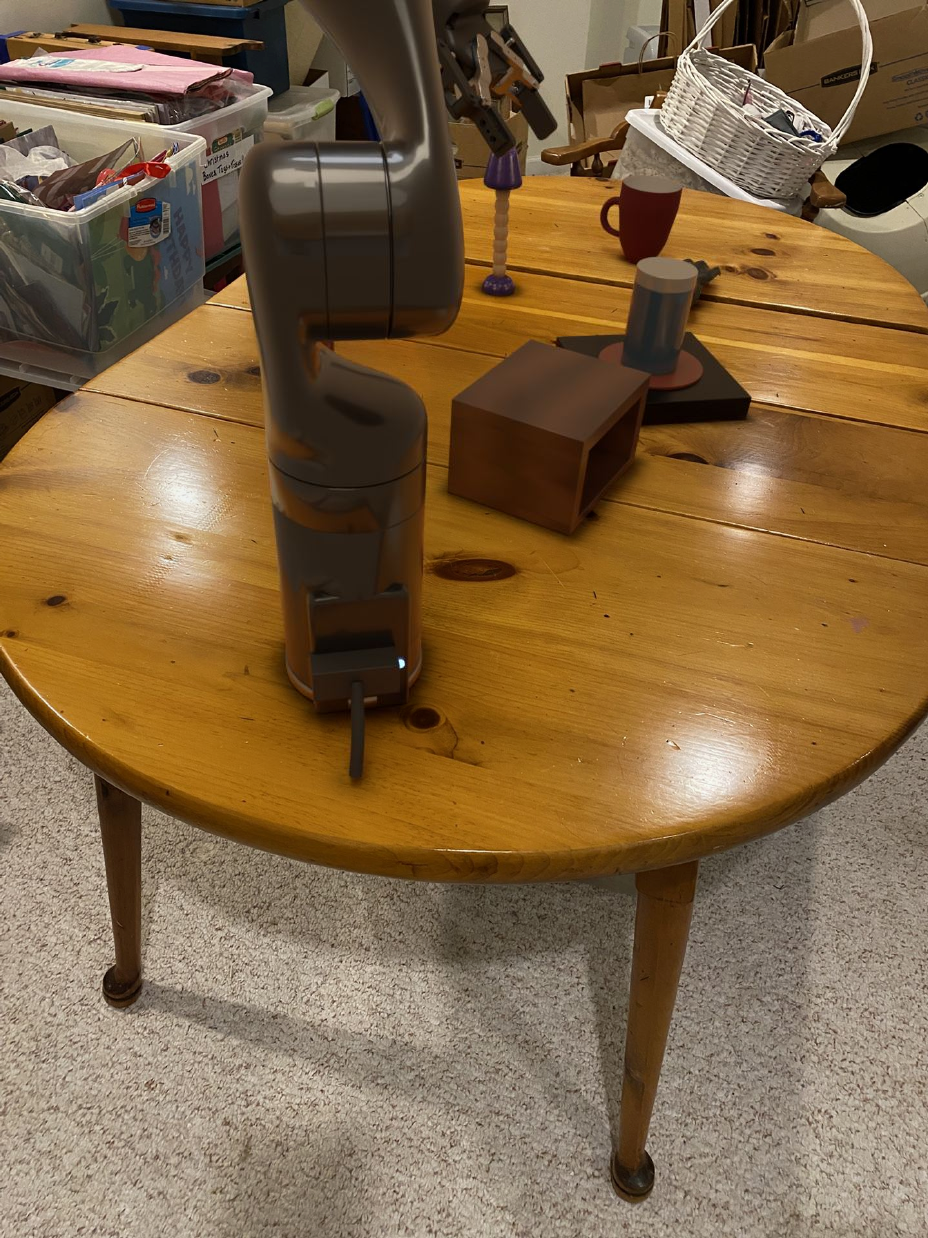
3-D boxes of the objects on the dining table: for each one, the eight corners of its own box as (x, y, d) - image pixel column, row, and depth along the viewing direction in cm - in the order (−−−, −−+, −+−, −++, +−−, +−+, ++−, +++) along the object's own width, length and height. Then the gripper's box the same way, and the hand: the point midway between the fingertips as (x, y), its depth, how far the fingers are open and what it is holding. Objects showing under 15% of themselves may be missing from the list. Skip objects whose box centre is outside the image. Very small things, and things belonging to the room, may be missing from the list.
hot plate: (745, 419, 95) (752, 394, 93) (598, 428, 92) (603, 402, 90) (686, 351, 107) (691, 328, 105) (553, 357, 104) (556, 333, 102)
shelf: (633, 461, 87) (651, 373, 81) (569, 536, 78) (584, 441, 72) (521, 425, 91) (530, 338, 86) (446, 491, 82) (451, 398, 76)
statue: (672, 294, 127) (656, 319, 110) (675, 251, 125) (658, 270, 108) (720, 293, 125) (710, 319, 108) (723, 250, 123) (714, 270, 106)
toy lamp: (493, 299, 115) (503, 155, 104) (469, 287, 118) (477, 145, 107) (521, 291, 118) (534, 149, 107) (497, 279, 120) (508, 140, 110)
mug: (587, 260, 128) (597, 183, 121) (600, 242, 134) (611, 168, 127) (662, 273, 125) (677, 196, 119) (672, 255, 131) (687, 180, 125)
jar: (686, 374, 96) (707, 278, 89) (631, 376, 95) (649, 279, 88) (664, 349, 100) (684, 256, 94) (612, 351, 99) (628, 257, 93)
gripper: (410, -51, 75) (522, 130, 78) (494, -59, 84) (591, 103, 88) (358, 18, 80) (465, 184, 83) (443, 3, 90) (535, 153, 93)
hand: (529, 142), depth 86 cm, fingers open, 8 cm apart
